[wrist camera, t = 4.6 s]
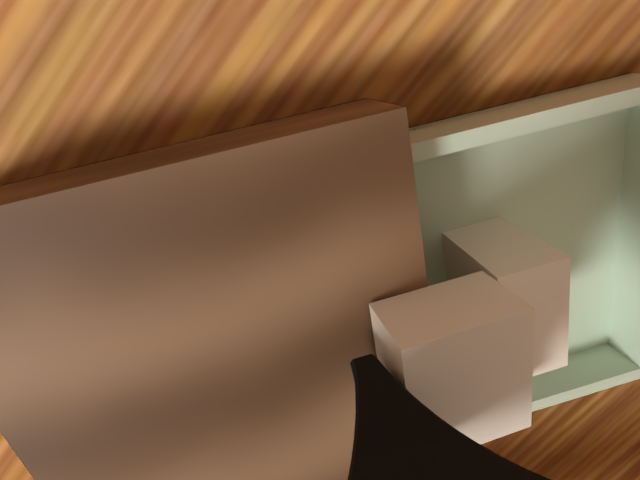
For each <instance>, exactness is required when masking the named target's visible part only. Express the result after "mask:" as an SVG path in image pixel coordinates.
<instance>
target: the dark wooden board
mask: <svg viewBox="0 0 640 480" xmlns="http://www.w3.org/2000/svg"><path fill="white" fill-rule="evenodd" d="M424 287H428V284H427V275H426V267H425V259H424V250H423V242H422V234H421V225H420V217H419V209H418V200H417V192H416V184H415V175H414V167H413V159H412V150H411V142H410V134H409V125H408V117H407V109H406V107H404V106H400V105H395V104H390V103H386V102H381V101H377V100H372V99H367V98H365V99H361V100H357V101H353V102H348V103H344V104H340V105H336V106H332V107H328V108H323V109H319V110H315V111H311V112H307V113H302V114H298V115H294V116H290V117H286V118H282V119H277V120H273V121H269V122H265V123H261V124H257V125H252V126H248V127H244V128H240V129H236V130H232V131H227V132H223V133H219V134H215V135H211V136H207V137H202V138H198V139H194V140H190V141H186V142H182V143H177V144H173V145H169V146H165V147H161V148H156V149H152V150H148V151H144V152H140V153H136V154H131V155H127V156H123V157H119V158H115V159H111V160H106V161H102V162H98V163H94V164H90V165H86V166H81V167H77V168H73V169H69V170H65V171H61V172H56V173H52V174H48V175H44V176H40V177H36V178H31V179H27V180H23V181H19V182H15V183H10V184H6V185H2V186H0V432H1V433H2V435H3V436H4V438H5V439H6V440H7V442H8V443H9V445H10V446H11V447H12V449H13V450H14V452H15V453H16V454H17V456H18V457H19V459H20V460H21V461H22V463H23V464H24V466H25V467H26V468H27V470H28V471H29V473H30V474H31V475H32V477H33V478H34V479H35V480H348V474H349V469H350V464H351V457H352V450H353V442H354V430H355V414H356V401H355V382H354V378H353V373H352V369H351V365H350V362H351V361H352V360H353V359H355V358H358V357H362V356H365V355H369V354H373V355H375V356H376V357H377V354H376V347H375V341H374V334H373V328H372V321H371V315H370V308H369V303H373V302H376V301H380V300H383V299H386V298H390V297H393V296H397V295H400V294H404V293H407V292H410V291H414V290H417V289H421V288H424Z"/></svg>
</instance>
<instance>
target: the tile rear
mask: <svg viewBox="0 0 640 480" xmlns="http://www.w3.org/2000/svg"><path fill="white" fill-rule="evenodd" d="M442 237H443V246H444V255H445V264H446V273H447V281H448V280H452V279H455V278H459V277H462V276H466V275H469V274H472V273H476V272H479V271H484V272H485V273H486V274H488V275H489V276H491V277H492V278H493V279H495V280H496V281H498V282H499V283H500V284H502V285H503V286H505V287H506V288H507V289H509V290H510V291H512V292H513V293H514V294H516V295H517V296H519V297H520V298H521V299H523V300H524V301H525V302H527V303H528V304H530V305H531V306H532V307H534V308H535V329H534V358H533V376H536V375H539V374H542V373H545V372H548V371H552V370H555V369H558V368H561V367H564V366H568V338H569V300H570V263H571V256H569V255H567V254H565V253H564V252H562V251H560V250H558V249H556V248H555V247H553V246H551V245H549V244H548V243H546V242H544V241H542V240H541V239H539V238H537V237H535V236H533V235H532V234H530V233H528V232H526V231H525V230H523V229H521V228H519V227H517V226H516V225H514V224H512V223H510V222H509V221H507V220H505V219H503V218H502V217H497V218H493V219H490V220H486V221H483V222H479V223H475V224H472V225H468V226H465V227H461V228H458V229H454V230H451V231H447V232H443V233H442Z"/></svg>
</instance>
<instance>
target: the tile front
mask: <svg viewBox="0 0 640 480" xmlns="http://www.w3.org/2000/svg"><path fill="white" fill-rule="evenodd" d="M369 308H370V315H371V321H372V328H373V334H374V341H375V347H376V354H377V358H378V360H379V361H380V362H381V363H382V364H383V366H384V367H385V368H386V369H387V370H388V371H389V372H390V373H391V374H392V375H393V376H394V377H395V379H396V380H397V381H398V382H399V383H401V384H402V385H403V386H404V387H405V388H406V389H407V390H408V391H409V392H410V393H411V394H412V395H413V396H414V397H416V398H417V399H418V400H419V401H420V402H421V403H423V404H424V405H425V406H426V407H427V408H429V409H430V410H431V411H432V412H434V413H435V414H436V415H438V416H439V417H440V418H441V419H443V420H444V421H445V422H447V423H448V424H450V425H451V426H453V427H454V428H455V429H457V430H458V431H460V432H461V433H463V434H464V435H466V436H467V437H469V438H471V439H472V440H474V441H475V442H477V443H479V444H480V445H481V444H483V443H486V442H489V441H492V440H495V439H497V438H500V437H503V436H506V435H509V434H511V433H514V432H517V431H520V430H522V429H525V428H528V427H531V416H532V387H533V358H534V329H535V308H534V307H532V306H531V305H530V304H528V303H527V302H525V301H524V300H523V299H521V298H520V297H519V296H517V295H516V294H514V293H513V292H512V291H510V290H509V289H507V288H506V287H505V286H503V285H502V284H500V283H499V282H498V281H496V280H495V279H493V278H492V277H491V276H489V275H488V274H486V273H485V272H484V271H479V272H476V273H472V274H469V275H466V276H462V277H459V278H455V279H452V280H448V281H445V282H441V283H438V284H435V285H431V286H428V287H424V288H421V289H417V290H414V291H410V292H407V293H404V294H400V295H397V296H393V297H390V298H386V299H383V300H380V301H376V302H373V303H369Z"/></svg>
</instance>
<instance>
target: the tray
mask: <svg viewBox="0 0 640 480" xmlns="http://www.w3.org/2000/svg"><path fill="white" fill-rule="evenodd" d="M409 134H410V142H411V150H412V159H413V167H414V175H415V184H416V192H417V200H418V209H419V217H420V225H421V234H422V242H423V250H424V259H425V267H426V275H427V284H428V286H431V285H435V284H438V283H441V282H445V281H447V273H446V264H445V255H444V246H443V237H442V233H443V232H447V231H451V230H454V229H458V228H461V227H465V226H468V225H472V224H475V223H479V222H483V221H486V220H490V219H493V218H497V217H502V218H503V219H505V220H507V221H509V222H510V223H512V224H514V225H516V226H517V227H519V228H521V229H523V230H525V231H526V232H528V233H530V234H532V235H533V236H535V237H537V238H539V239H541V240H542V241H544V242H546V243H548V244H549V245H551V246H553V247H555V248H556V249H558V250H560V251H562V252H564V253H565V254H567V255H569V256H571V263H570V300H569V338H568V366H564V367H561V368H558V369H555V370H552V371H548V372H545V373H542V374H539V375H536V376H533V387H532V412H533V411H536V410H540V409H543V408H546V407H549V406H553V405H556V404H559V403H562V402H565V401H569V400H572V399H575V398H578V397H582V396H585V395H588V394H591V393H595V392H598V391H601V390H604V389H608V388H611V387H614V386H617V385H621V384H624V383H627V382H630V381H633V380H637V379H640V73H630V74H625V75H621V76H617V77H613V78H609V79H605V80H601V81H597V82H593V83H589V84H585V85H581V86H577V87H573V88H569V89H565V90H561V91H557V92H553V93H549V94H545V95H541V96H537V97H533V98H528V99H524V100H520V101H516V102H512V103H508V104H504V105H500V106H496V107H492V108H488V109H484V110H480V111H476V112H472V113H468V114H464V115H460V116H456V117H452V118H448V119H444V120H440V121H436V122H431V123H427V124H423V125H419V126H415V127H411V128H409Z"/></svg>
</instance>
